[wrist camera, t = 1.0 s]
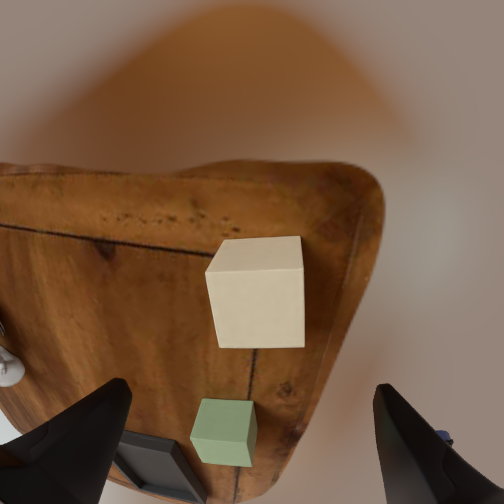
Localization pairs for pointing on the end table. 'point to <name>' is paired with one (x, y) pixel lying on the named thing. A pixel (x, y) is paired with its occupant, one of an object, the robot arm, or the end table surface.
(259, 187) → the end table surface
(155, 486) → the tray
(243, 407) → the block
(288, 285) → the block
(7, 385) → the figurine
